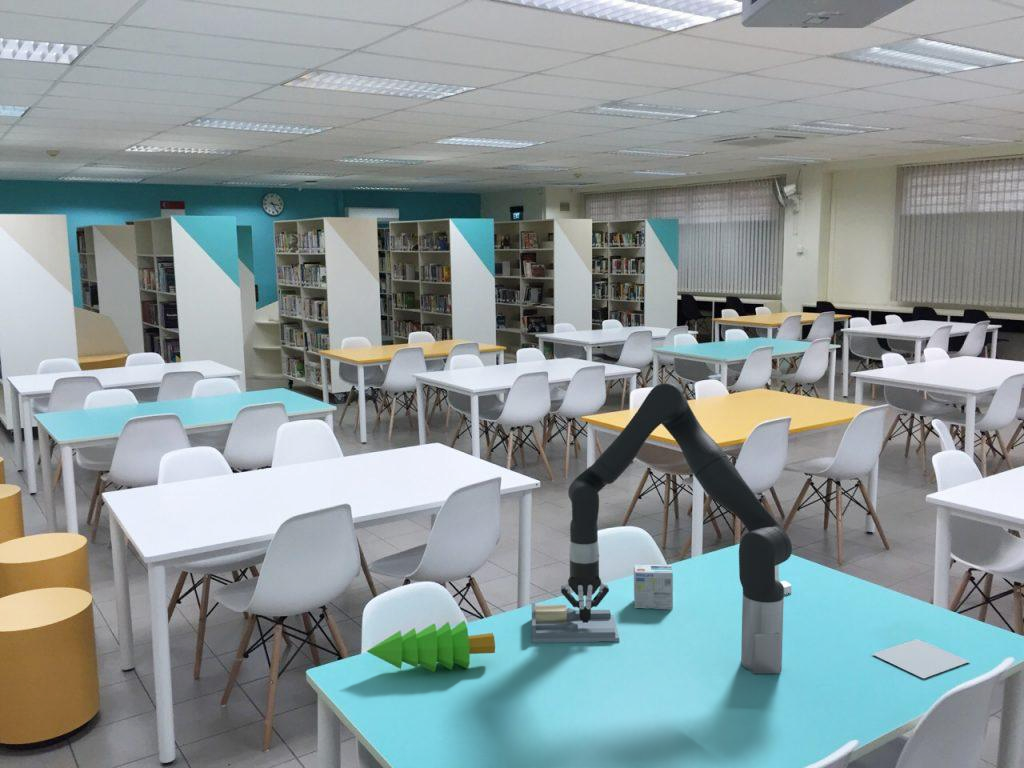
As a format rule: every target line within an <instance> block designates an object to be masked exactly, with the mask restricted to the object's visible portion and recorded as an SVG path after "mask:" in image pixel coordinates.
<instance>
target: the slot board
mask: <svg viewBox="0 0 1024 768" xmlns="http://www.w3.org/2000/svg"><path fill="white" fill-rule="evenodd" d="M535 605H536V603H534V602H533V603H531V636H532V637H531V640H532V641H531V642H532V643H599V642H598V641H617V642H618V643H619V642H620V635H619V631H618V627H617V624H616V620H615V616H614V614H611V610H610V609H591V619H590V620H588V623H583V622H582V621H581V620H580V617H579V609H573V608H571V607H566V610H567V622H536V611H535ZM590 641H591V642H590ZM594 641H595V642H594ZM617 642H616V643H617Z"/></svg>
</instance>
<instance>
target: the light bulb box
mask: <svg viewBox="0 0 1024 768" xmlns="http://www.w3.org/2000/svg"><path fill="white" fill-rule="evenodd" d="M673 575H674V574H673V569H672V565H671V564H634V563H633V596H634V597H633V599H634V601H633V603H634V609H635V608H655V609H654V610H673V609H674V606H673V605H674V591H673V590H674V587H673V586H674V582H673V581H674V576H673Z"/></svg>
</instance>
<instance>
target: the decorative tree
mask: <svg viewBox="0 0 1024 768" xmlns="http://www.w3.org/2000/svg"><path fill="white" fill-rule="evenodd" d="M468 633H469V632H468V626H467V623H466V622H465V620H462V621H461V622H460V623H458V624H457V625H456V626H455V627H451V624H450V622H449V621H447V622H445V624H443V625H442V626H441V627H440V628H439V629H437V626H436V623H432V624H431V625H429V626H427V627H426V628H423V629H422V630H420V631H419V632H416V628H415V627H414V628H412V629H411V630H409V631H408V632H407V633H405V634H403V635H402V630H399V631H397V632H395V633H394V634H392V635H391V636H389V637H387V638H386V639H384V640H382V641H381V642H379V643H377V644H376V645H373V646H372V647H371V648H369V649H368V650H366V652H367V653H369V654H370V655H373V656H375V657H377V658H379V659H380V660H383V661H384V662H386V663H387V664H391V665H392V666H394V667H396V668H398V669H400V670H402V665H403V663H405V664H408V665H409V666H412V667H415V668H418V667H419V665H420V666H421V667H424V668H425V669H426V670H429V671H430V672H433V673H436V669H437V663H438V664H440V665H441V666H443V667H444V668H447V669H448V670H450V671H452V670H453V666H454V664H456V665H458V666H460V667H463V668H465V669H466V670H468V669H469V666H470V659H471V658H470V657H471V656H470V655H475V654H477V655H480V654H481V655H482V654H495V653H496V639H495V635H494V633H493V632H489V633H482V634H472V635H469V634H468Z"/></svg>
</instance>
